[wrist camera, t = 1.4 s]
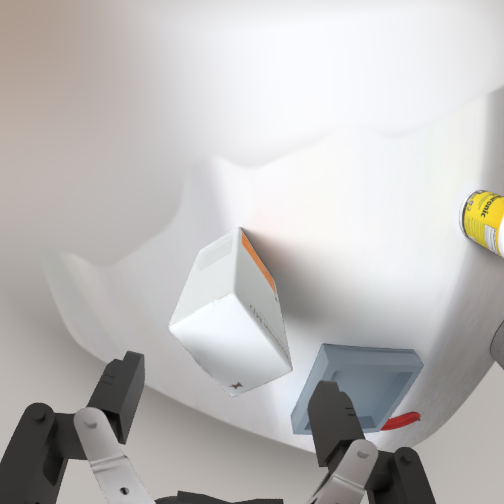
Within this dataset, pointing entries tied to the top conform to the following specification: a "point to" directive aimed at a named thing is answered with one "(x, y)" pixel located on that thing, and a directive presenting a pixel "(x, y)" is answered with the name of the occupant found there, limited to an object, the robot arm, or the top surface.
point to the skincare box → (232, 316)
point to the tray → (361, 382)
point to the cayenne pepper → (401, 421)
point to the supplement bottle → (484, 219)
